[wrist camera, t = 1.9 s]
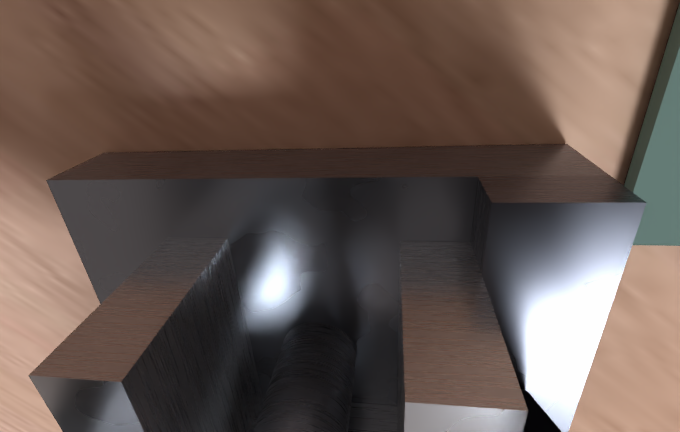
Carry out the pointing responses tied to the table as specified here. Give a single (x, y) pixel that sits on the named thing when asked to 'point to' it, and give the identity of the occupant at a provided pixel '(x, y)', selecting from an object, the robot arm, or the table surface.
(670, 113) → the green mat
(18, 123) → the table surface
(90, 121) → the table surface
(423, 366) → the grey u-shaped bracket
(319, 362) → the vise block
